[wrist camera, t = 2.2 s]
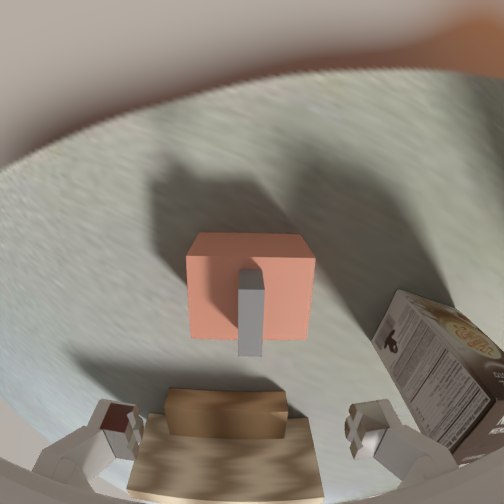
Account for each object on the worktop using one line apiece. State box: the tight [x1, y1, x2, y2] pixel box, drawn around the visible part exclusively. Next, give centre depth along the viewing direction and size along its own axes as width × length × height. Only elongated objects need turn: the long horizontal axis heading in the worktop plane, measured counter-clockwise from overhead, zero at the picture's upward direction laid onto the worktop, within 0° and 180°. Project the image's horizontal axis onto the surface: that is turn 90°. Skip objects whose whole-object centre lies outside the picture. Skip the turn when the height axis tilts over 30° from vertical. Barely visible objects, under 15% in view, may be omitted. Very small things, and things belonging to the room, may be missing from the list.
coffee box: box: [371, 289, 504, 465], centre depth 20 cm, size 9×6×16 cm
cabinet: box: [186, 232, 316, 357], centre depth 22 cm, size 8×6×9 cm
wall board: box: [126, 388, 324, 504], centre depth 25 cm, size 18×6×11 cm, turn 89°
